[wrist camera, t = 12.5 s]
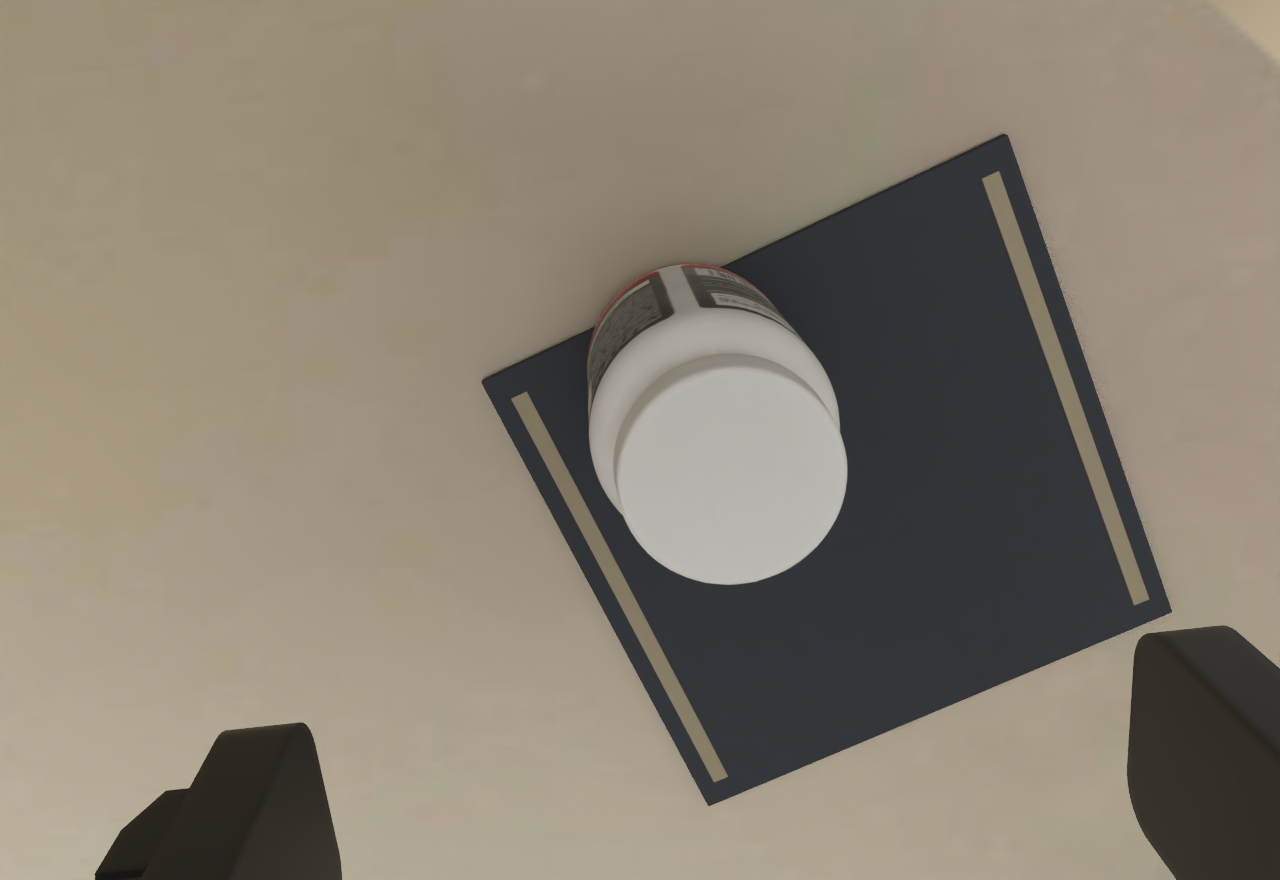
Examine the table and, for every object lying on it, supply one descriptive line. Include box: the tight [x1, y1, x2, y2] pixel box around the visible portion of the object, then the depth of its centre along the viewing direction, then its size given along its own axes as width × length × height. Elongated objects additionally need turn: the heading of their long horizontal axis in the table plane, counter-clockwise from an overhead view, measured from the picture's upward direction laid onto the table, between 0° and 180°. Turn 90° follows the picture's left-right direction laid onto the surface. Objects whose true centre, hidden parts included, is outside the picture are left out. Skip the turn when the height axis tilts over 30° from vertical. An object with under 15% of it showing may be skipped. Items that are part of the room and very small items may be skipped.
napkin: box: [482, 134, 1172, 806], centre depth 33 cm, size 16×16×1 cm
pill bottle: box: [587, 264, 847, 585], centre depth 27 cm, size 6×6×10 cm
